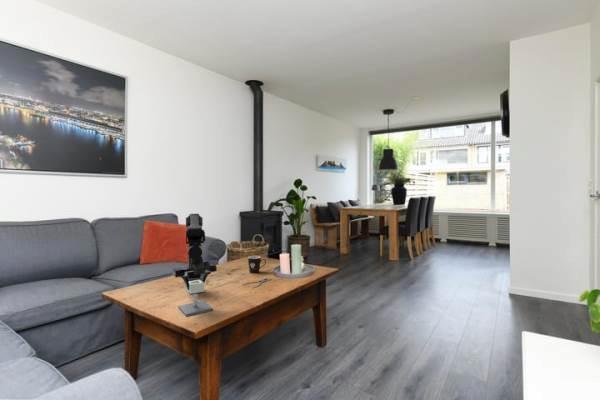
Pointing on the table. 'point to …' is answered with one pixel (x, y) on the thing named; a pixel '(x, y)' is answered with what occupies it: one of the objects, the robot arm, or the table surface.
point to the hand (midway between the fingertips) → (195, 288)
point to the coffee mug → (254, 264)
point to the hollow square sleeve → (196, 286)
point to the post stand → (195, 307)
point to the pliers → (259, 281)
